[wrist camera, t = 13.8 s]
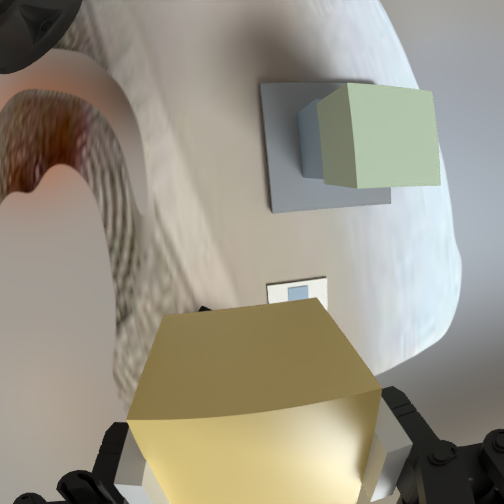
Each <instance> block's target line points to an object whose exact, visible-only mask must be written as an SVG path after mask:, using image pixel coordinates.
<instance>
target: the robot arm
mask: <svg viewBox="0 0 504 504" xmlns="http://www.w3.org/2000/svg"><path fill="white" fill-rule="evenodd" d="M81 2H82V0H0V74H10V73H14V72H17V71H19V70H22V69H24V68H25V67H27V66H29V65H31V64H32V63H33V62H35V61H37V60H38V59H39V58H41V57H42V56H43V55H44V54H45V53H47V52H48V51H49V50H50V49H51V48H52V47H53V46H54V45H55V44H56V43H57V42H58V40H59V39H60V38H61V37H62V36H63V34H64V33H65V32H66V31H67V29H68V28H69V26H70V25H71V23H72V22H73V20H74V18H75V16H76V14H77V12H78V10H79V8H80V5H81ZM362 485H363V487H364V489H365V492H366V494H367V496H368V499H369V501H370V502H372V501H375V500H378V499H381V498H384V497H387V496H389V495H392V494H393V492H394V490H395V487H396V486H397V488H398V490H399V492H400V494H401V495H400V497H399V499H398V501H397V503H396V504H504V429H497V430H493V431H491V432H490V433H489V434H487V435H486V437H485V439H484V441H483V443H478V444H473V445H468V446H461V447H457V446H456V445H455V444H453V443H452V442H449V441H445V440H440V439H439V438H438V437H437V436H436V435H435V433H434V432H433V431H432V429H431V428H430V427H429V425H428V424H427V423H426V421H425V420H424V419H423V417H421V415H420V413H419V412H417V410H416V408H415V407H414V406H413V404H411V402H410V400H409V399H408V398H407V397H406V395H405V394H404V393H403V392H402V391H400V390H398V389H397V388H395V387H393V386H391V387H387V388H384V389H382V393H381V399H380V405H379V410H378V416H377V421H376V426H375V430H374V435H373V439H372V444H371V448H370V453H369V457H368V461H367V465H366V469H365V473H364V476H363V480H362ZM56 490H57V491H58V492H59V493H60V494H61V495H62V497H63V498H64V499H65V500H66V501H55V502H46V500H45V499H43V497H41V496H40V495H38V494H36V493H25V494H22V495H20V496H19V497H18V498H16V500H15V501H14V503H13V504H170V502H169V500H168V499H167V497H166V495H165V493H164V492H163V490H162V488H161V486H160V484H159V483H158V481H157V479H156V477H155V475H154V473H153V471H152V469H151V467H150V466H149V464H148V462H147V460H146V459H144V457H143V455H142V453H141V451H140V449H139V447H138V444H137V442H136V440H135V438H134V436H133V434H132V432H131V429H130V427H129V425H128V423H126V422H114V423H113V424H112V425H111V427H110V428H109V429H108V430H107V431H106V433H105V435H104V438H103V441H102V445H101V447H100V449H99V454H98V455H97V459H96V461H95V465H94V467H93V470H92V473H91V472H88V471H86V470H76V471H72V472H69V473H67V474H66V475H64V476H63V477H62V478H61V479H60V481H59V482H58V485H57V488H56Z"/></svg>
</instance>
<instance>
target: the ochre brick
mask: <svg viewBox="0 0 504 504" xmlns="http://www.w3.org/2000/svg"><path fill="white" fill-rule="evenodd" d="M381 393H382V387H381V385H380V384H379V382H378V381H377V380H376V378H375V377H374V375H373V374H372V373H371V371H370V370H369V368H368V367H367V366H366V364H365V363H364V361H363V360H362V359H361V357H360V356H359V354H358V353H357V352H356V350H355V349H354V347H353V346H352V345H351V343H350V342H349V341H348V339H347V338H346V336H345V335H344V334H343V332H342V331H341V330H340V328H339V327H338V325H337V324H336V323H335V321H334V320H333V319H332V317H331V316H330V315H329V313H328V312H327V310H326V309H325V308H324V306H323V305H322V304H321V302H320V301H319V300H318V298H317V297H314V298H308V299H301V300H293V301H286V302H279V303H271V304H263V305H255V306H247V307H239V308H230V309H221V310H212V311H202V312H192V313H182V314H171V315H164V316H163V319H162V322H161V324H160V327H159V329H158V332H157V335H156V337H155V340H154V343H153V345H152V348H151V351H150V353H149V356H148V359H147V362H146V364H145V367H144V370H143V373H142V375H141V378H140V381H139V384H138V387H137V390H136V392H135V395H134V398H133V401H132V404H131V407H130V410H129V413H128V416H127V419H126V420H127V423H128V425H129V427H130V429H131V432H132V434H133V436H134V438H135V440H136V442H137V444H138V447H139V449H140V451H141V453H142V455H143V457H144V459H146V460H147V462H148V464H149V466H150V467H151V469H152V471H153V473H154V475H155V477H156V479H157V481H158V483H159V484H160V486H161V488H162V490H163V492H164V493H165V495H166V497H167V499H168V500H169V502H170V504H356V502H357V499H358V495H359V492H360V488H361V485H362V480H363V476H364V473H365V469H366V465H367V461H368V457H369V453H370V448H371V444H372V439H373V435H374V430H375V426H376V421H377V416H378V410H379V405H380V399H381Z"/></svg>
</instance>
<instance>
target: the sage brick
mask: <svg viewBox="0 0 504 504" xmlns="http://www.w3.org/2000/svg"><path fill="white" fill-rule="evenodd" d="M317 112H318V121H319V130H320V141H321V151H322V163H323V176H324V184H327V185H335V186H342V187H349V188H356V189H361V188H380V187H404V186H437V185H441V183H440V161H439V147H438V135H437V126H436V117H435V109H434V102H433V95H432V92H431V91H424V90H418V89H410V88H402V87H394V86H384V85H373V84H360V83H346V84H344V85H343V86H341V87H340V88H338V89H337V90H335V91H334V92H332V93H331V94H329V95H328V96H326V97H325V98H323V99H322V100H321V101H319V102H318V103H317Z"/></svg>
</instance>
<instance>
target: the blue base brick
mask: <svg viewBox="0 0 504 504" xmlns="http://www.w3.org/2000/svg"><path fill="white" fill-rule="evenodd" d="M321 100H322V99H315V100H314V101H312V102H311V103H310V104H308V105H307V106H306V107H304V108H303V109H302V110H300V111H299V112H298V113H297V115H298V124H299V134H300V144H301V155H302V167H303V178H314V179H324V176H323V163H322V151H321V141H320V130H319V121H318V112H317V103H318V102H319V101H321Z"/></svg>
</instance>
